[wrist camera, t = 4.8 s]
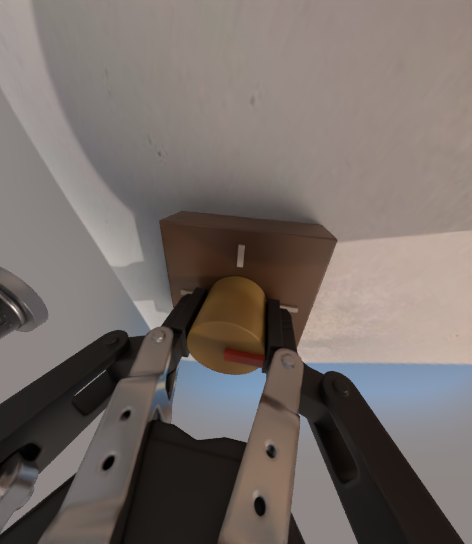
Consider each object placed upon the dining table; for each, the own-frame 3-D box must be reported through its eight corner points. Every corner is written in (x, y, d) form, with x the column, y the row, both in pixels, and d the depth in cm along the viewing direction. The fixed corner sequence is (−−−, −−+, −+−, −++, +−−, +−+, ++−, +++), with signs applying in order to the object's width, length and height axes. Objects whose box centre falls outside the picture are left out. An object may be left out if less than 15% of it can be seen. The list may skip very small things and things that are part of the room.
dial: (209, 316, 13) (186, 372, 9) (208, 271, 11) (179, 320, 7) (262, 325, 13) (259, 387, 9) (270, 280, 11) (272, 336, 7)
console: (190, 312, 18) (176, 337, 15) (181, 210, 13) (156, 220, 10) (289, 328, 16) (294, 359, 14) (322, 224, 11) (339, 240, 9)
